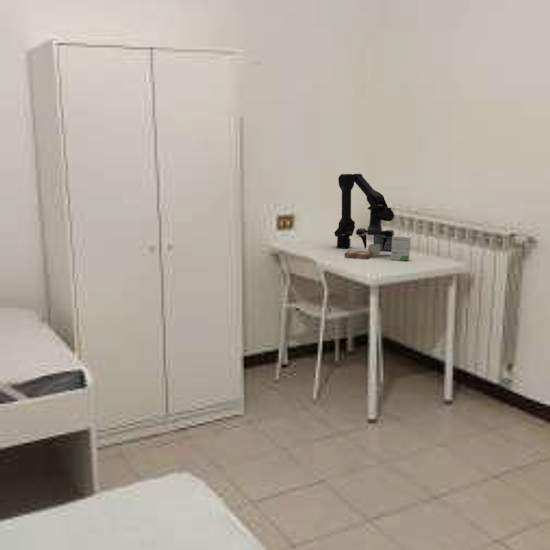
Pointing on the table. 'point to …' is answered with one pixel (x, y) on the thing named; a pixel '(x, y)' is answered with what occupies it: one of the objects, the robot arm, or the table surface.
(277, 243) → the table surface
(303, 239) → the table surface
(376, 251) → the sage cube
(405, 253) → the ink box
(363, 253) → the brown wooden tray
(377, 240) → the small box
